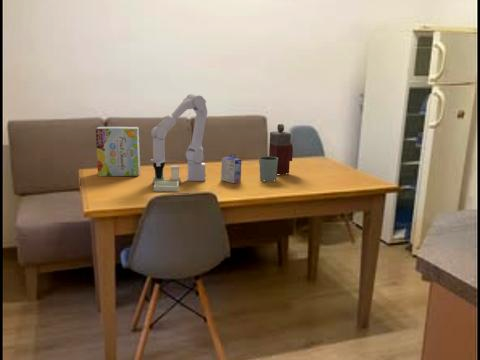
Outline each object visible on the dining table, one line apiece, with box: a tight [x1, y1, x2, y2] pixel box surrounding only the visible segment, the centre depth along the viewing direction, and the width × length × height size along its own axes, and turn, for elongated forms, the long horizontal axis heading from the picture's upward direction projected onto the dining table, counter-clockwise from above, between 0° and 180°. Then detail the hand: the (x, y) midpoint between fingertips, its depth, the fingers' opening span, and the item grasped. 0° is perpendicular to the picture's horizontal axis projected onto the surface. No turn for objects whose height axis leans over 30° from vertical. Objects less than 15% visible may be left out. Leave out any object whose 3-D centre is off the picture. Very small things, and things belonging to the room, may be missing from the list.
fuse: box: [170, 165, 180, 179], centre depth 253 cm, size 4×3×8 cm
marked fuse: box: [154, 170, 164, 179], centre depth 252 cm, size 4×3×8 cm
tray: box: [153, 181, 180, 192], centre depth 244 cm, size 12×11×2 cm
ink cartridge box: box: [220, 152, 242, 184], centre depth 261 cm, size 10×6×14 cm, turn 48°
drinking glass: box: [258, 155, 278, 182], centre depth 266 cm, size 10×10×12 cm
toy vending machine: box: [268, 123, 294, 174], centre depth 281 cm, size 9×11×28 cm
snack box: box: [95, 126, 141, 177], centre depth 266 cm, size 22×9×26 cm, turn 95°
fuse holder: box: [152, 176, 182, 186], centre depth 253 cm, size 14×7×3 cm, turn 96°
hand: (159, 177), depth 252 cm, fingers closed on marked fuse, 3 cm apart
